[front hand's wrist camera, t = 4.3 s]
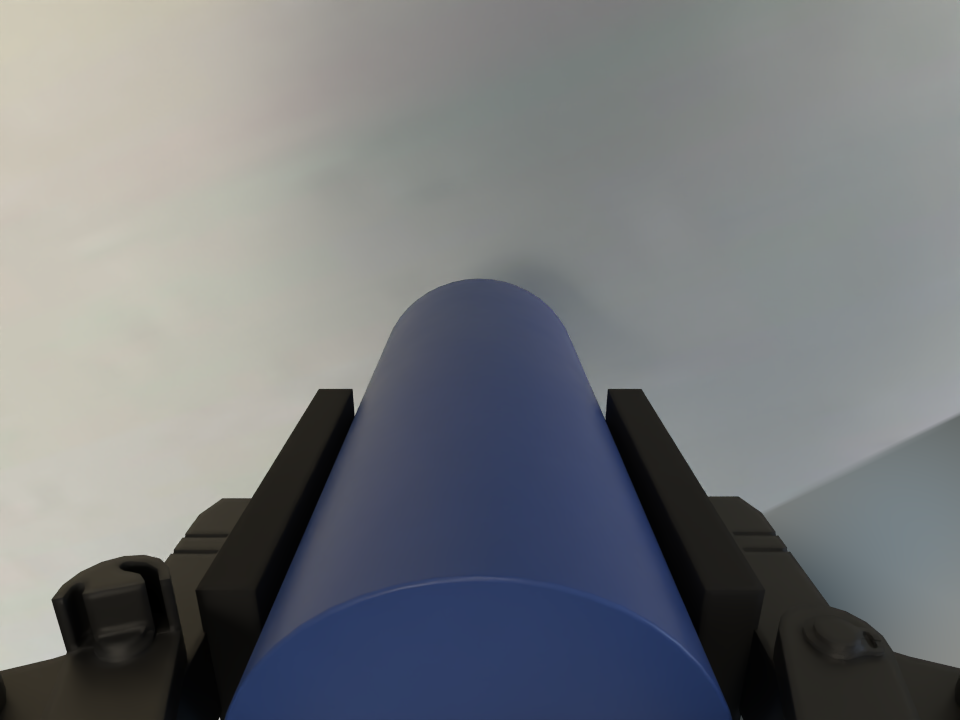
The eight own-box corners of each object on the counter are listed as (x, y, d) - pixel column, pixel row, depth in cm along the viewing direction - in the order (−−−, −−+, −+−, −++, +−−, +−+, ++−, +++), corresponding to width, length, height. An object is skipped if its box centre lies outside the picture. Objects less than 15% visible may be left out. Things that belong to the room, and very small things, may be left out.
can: (402, 467, 20) (288, 965, 8) (365, 293, 18) (144, 613, 6) (582, 445, 20) (739, 926, 8) (566, 265, 18) (742, 544, 6)
